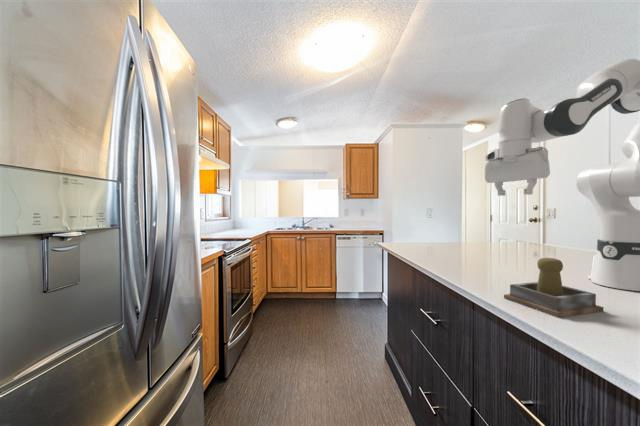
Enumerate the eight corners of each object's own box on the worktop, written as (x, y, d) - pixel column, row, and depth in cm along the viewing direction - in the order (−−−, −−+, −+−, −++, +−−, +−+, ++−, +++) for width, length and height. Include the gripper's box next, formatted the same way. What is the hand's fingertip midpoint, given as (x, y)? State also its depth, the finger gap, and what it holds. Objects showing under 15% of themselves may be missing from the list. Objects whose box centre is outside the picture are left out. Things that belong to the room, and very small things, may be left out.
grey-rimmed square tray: (544, 293, 84) (544, 280, 84) (603, 311, 70) (603, 294, 70) (503, 298, 80) (504, 283, 80) (558, 317, 66) (558, 300, 66)
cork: (554, 297, 78) (554, 256, 78) (571, 304, 72) (571, 260, 72) (530, 296, 78) (530, 256, 78) (544, 303, 73) (544, 260, 72)
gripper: (555, 145, 83) (555, 193, 83) (496, 157, 103) (495, 196, 103) (538, 144, 81) (538, 193, 82) (481, 156, 101) (481, 196, 101)
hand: (514, 195), depth 92 cm, fingers open, 8 cm apart
